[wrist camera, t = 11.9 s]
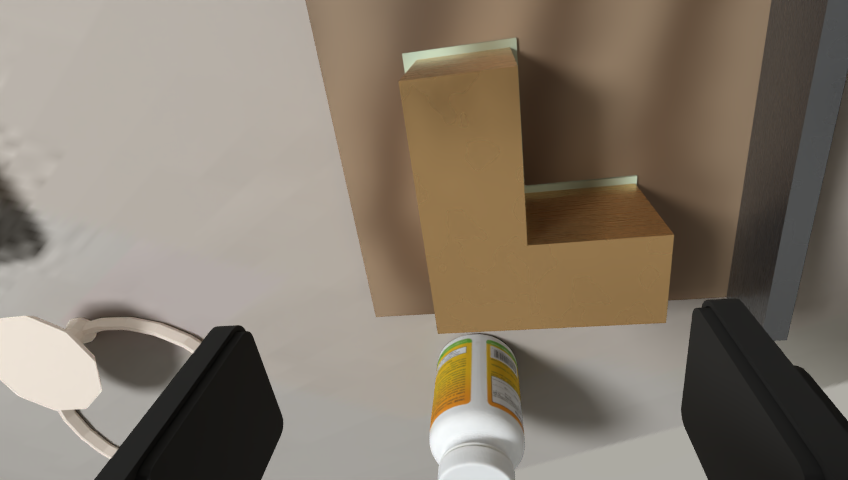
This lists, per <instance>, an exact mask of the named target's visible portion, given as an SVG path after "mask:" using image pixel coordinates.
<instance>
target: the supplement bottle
mask: <svg viewBox="0 0 848 480" xmlns="http://www.w3.org/2000/svg"><path fill="white" fill-rule="evenodd" d="M524 440H525V438H524V429H523V419H522V408H521V398H520V388H519V377H518V368H517V362H516V359H515V356H514V354H513V352H512V351H511V349H510V348H509V347H508V346H507V345H506V344H505V343H503V342H502V341H500V340H499V339H497V338H494V337H492V336H489V335H483V334H470V335H465V336H461V337H459V338H456V339H454V340H453V341H451V342H450V343H448V344H447V345H446V346H445V347H444V349H443V350H442V352H441V354H440V356H439V360H438V365H437V373H436V382H435V391H434V400H433V408H432V416H431V425H430V448H431V451H432V454H433V456H434V458H435V460H436V461H437V463H438V464H439V470H438V480H515V471H514V469H515V468H516V467H517V466H518V465H519V463H520V462H521V460H522V457H523V454H524V448H525V441H524Z"/></svg>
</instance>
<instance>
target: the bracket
mask: <svg viewBox="0 0 848 480" xmlns="http://www.w3.org/2000/svg"><path fill="white" fill-rule="evenodd" d="M398 82H399V89H400V95H401V101H402V108H403V114H404V120H405V127H406V133H407V140H408V146H409V152H410V159H411V165H412V171H413V178H414V184H415V191H416V197H417V203H418V210H419V216H420V222H421V229H422V235H423V242H424V248H425V254H426V261H427V267H428V273H429V280H430V286H431V293H432V299H433V305H434V312H435V318H436V324H437V331H438V334H442V333H463V332H484V331H505V330H526V329H547V328H567V327H588V326H609V325H630V324H651V323H666V317H667V306H668V295H669V284H670V274H671V263H672V252H673V241H674V234H673V233H672V231H671V230H670V229H669V227H668V226H667V225H666V223H665V222H664V221H663V219H662V218H661V217H660V216H659V214H658V213H657V212H656V210H655V209H654V208H653V206H652V205H651V204H650V202H649V201H648V200H647V198H646V197H645V196H644V194H643V193H642V192H641V191H640V189H639V188H638V187H637V185H636V184H635V183H634V184H623V185H612V186H601V187H590V188H578V189H567V190H556V191H545V192H534V193H525V192H524V173H523V155H522V136H521V117H520V98H519V80H518V65H517V63H516V61H515V58H514V56H513V53H512V51H511V49H510V47H508V48H501V49H493V50H486V51H478V52H471V53H464V54H456V55H449V56H441V57H434V58H427V59H419V60H416V61H415V62H414V64H413V65H412V66H411V67H410V68H409V69H408V71H407V72H406V73H405V74H404V75H403V76H402V78H401V79H400V80H399V81H398Z"/></svg>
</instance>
